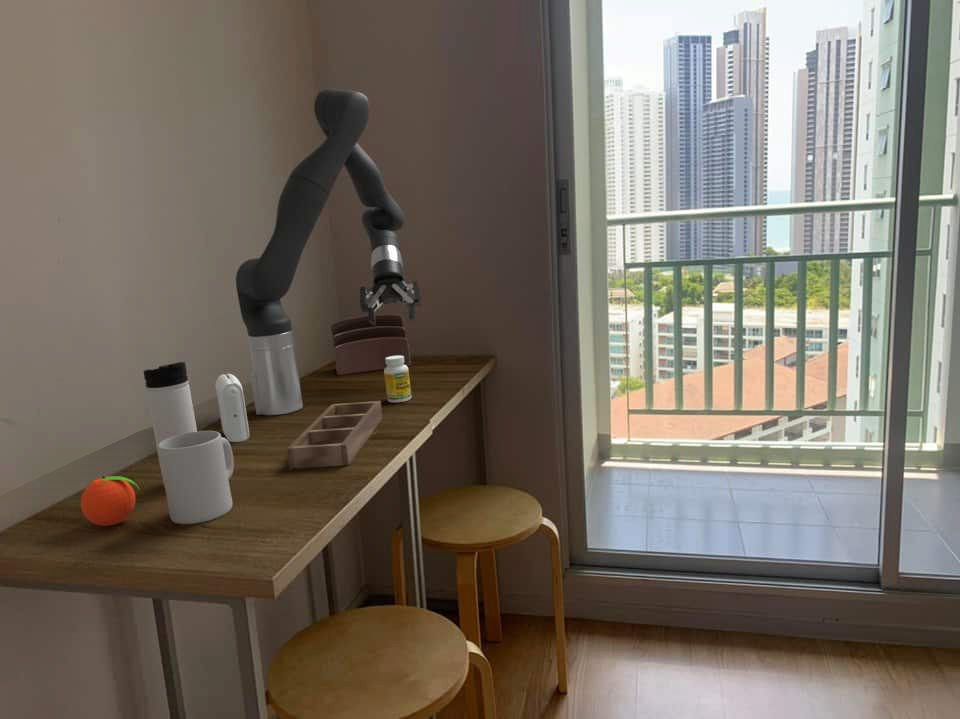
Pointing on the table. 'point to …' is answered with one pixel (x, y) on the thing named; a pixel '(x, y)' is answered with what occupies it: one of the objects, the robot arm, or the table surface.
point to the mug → (197, 476)
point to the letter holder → (368, 343)
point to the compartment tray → (335, 435)
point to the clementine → (108, 500)
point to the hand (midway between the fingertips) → (392, 321)
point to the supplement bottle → (397, 380)
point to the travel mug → (169, 402)
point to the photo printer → (232, 408)
